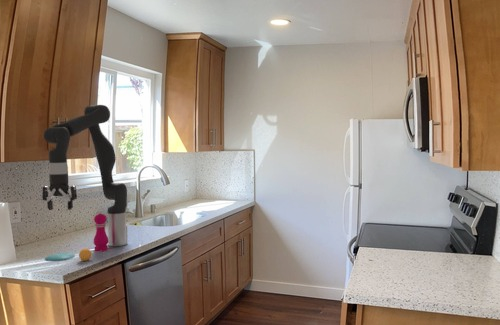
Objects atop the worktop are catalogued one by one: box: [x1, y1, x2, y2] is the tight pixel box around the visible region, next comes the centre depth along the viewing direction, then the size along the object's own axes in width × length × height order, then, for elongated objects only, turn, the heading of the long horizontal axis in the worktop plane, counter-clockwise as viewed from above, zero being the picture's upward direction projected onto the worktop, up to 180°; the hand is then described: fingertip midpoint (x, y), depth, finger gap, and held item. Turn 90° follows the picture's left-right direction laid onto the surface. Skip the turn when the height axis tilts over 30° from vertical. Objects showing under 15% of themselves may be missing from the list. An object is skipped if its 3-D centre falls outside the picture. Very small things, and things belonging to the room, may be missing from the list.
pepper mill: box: [92, 210, 109, 252], centre depth 209 cm, size 7×7×20 cm
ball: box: [78, 248, 93, 262], centre depth 190 cm, size 6×6×6 cm
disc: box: [44, 252, 75, 262], centre depth 197 cm, size 13×13×1 cm
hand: (60, 209), depth 181 cm, fingers open, 8 cm apart
